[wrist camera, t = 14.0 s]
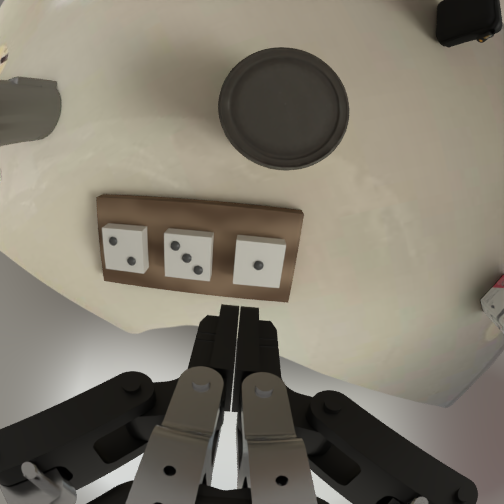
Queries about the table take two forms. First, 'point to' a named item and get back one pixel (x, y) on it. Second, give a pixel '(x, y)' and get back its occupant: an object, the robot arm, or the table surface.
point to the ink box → (495, 304)
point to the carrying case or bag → (467, 21)
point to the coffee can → (283, 108)
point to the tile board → (209, 220)
